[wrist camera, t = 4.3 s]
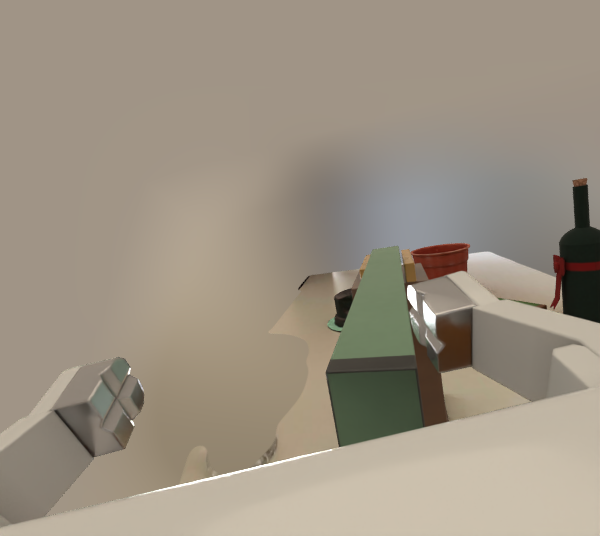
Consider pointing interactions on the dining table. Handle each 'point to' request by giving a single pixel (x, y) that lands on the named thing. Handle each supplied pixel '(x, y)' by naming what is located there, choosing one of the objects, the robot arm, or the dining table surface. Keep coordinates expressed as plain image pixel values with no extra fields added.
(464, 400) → the dining table surface
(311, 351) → the dining table surface
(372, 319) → the slide bar
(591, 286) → the wine bottle
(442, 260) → the flower pot
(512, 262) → the dining table surface
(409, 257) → the stand
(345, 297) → the chocolate cake
